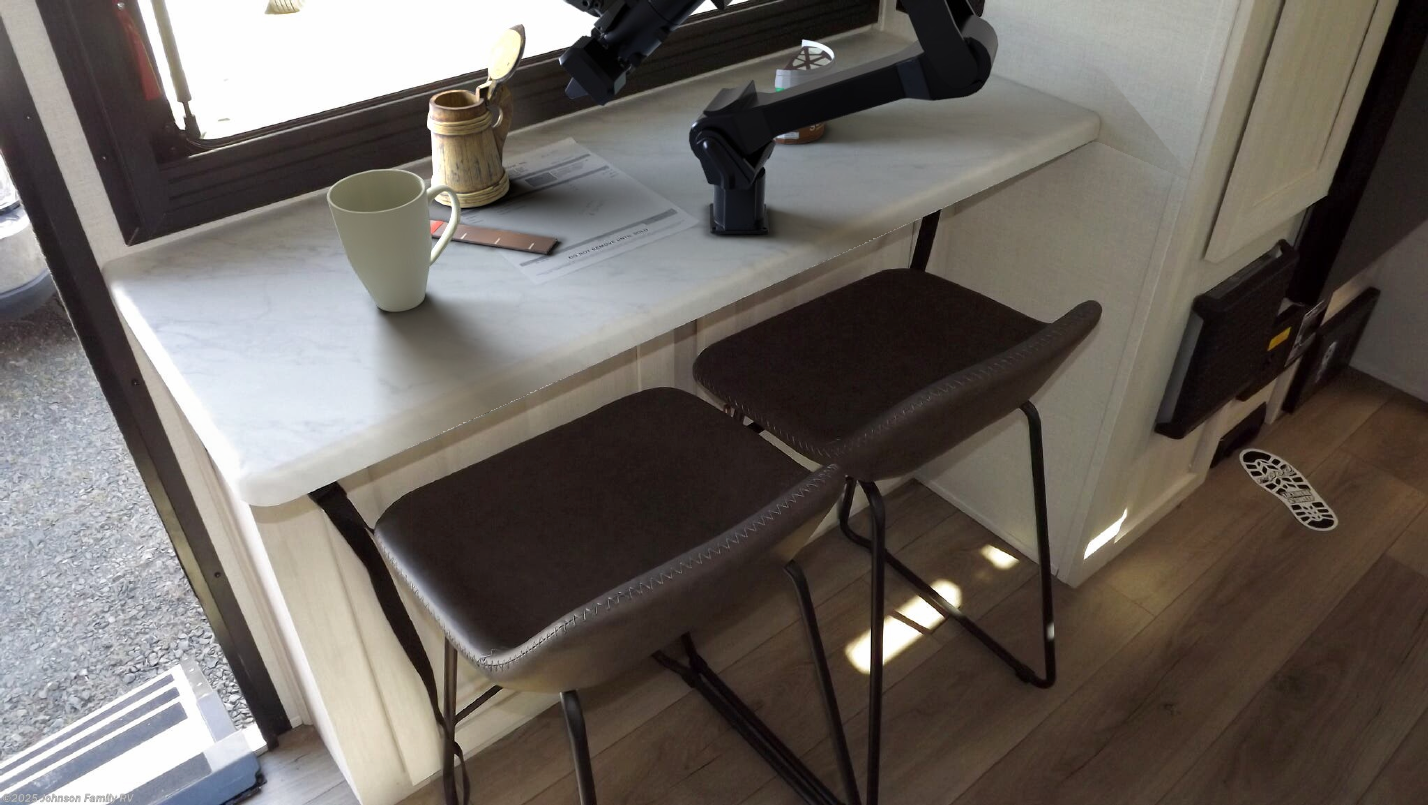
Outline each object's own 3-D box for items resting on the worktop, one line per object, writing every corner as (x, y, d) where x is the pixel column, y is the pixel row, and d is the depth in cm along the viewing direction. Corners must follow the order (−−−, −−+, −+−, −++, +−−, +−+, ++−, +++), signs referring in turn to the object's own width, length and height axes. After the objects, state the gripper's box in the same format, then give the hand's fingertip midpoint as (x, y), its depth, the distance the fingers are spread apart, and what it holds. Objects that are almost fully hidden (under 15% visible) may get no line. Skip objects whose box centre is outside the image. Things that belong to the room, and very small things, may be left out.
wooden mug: (556, 186, 123) (541, 35, 112) (448, 215, 118) (421, 59, 106) (524, 158, 129) (507, 12, 118) (421, 184, 123) (392, 33, 112)
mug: (434, 329, 100) (412, 218, 92) (338, 318, 101) (309, 208, 94) (474, 270, 108) (457, 165, 101) (385, 261, 110) (361, 156, 102)
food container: (818, 155, 130) (824, 77, 124) (771, 147, 132) (775, 70, 126) (843, 117, 139) (849, 43, 133) (799, 111, 141) (803, 37, 135)
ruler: (557, 240, 113) (556, 238, 113) (546, 254, 111) (546, 251, 111) (392, 216, 117) (392, 214, 117) (379, 229, 115) (378, 226, 115)
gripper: (636, -87, 109) (548, 9, 118) (571, -38, 95) (477, 67, 104) (708, -4, 112) (617, 84, 121) (655, 56, 98) (557, 150, 107)
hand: (569, 94), depth 113 cm, fingers closed
